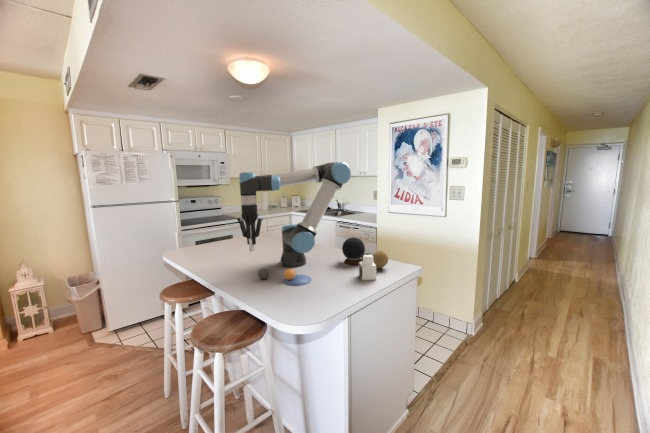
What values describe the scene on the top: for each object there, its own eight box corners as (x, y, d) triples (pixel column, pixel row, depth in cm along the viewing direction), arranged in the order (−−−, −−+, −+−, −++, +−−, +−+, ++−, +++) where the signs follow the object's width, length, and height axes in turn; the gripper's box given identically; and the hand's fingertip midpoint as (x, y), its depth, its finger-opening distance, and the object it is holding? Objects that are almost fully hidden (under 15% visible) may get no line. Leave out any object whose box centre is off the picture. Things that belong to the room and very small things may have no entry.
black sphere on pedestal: (339, 265, 163) (339, 239, 161) (345, 258, 175) (345, 234, 173) (362, 267, 158) (362, 240, 156) (367, 260, 170) (367, 235, 168)
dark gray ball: (259, 268, 147) (263, 278, 148) (254, 272, 142) (259, 282, 142) (268, 265, 146) (272, 274, 146) (263, 269, 140) (268, 279, 141)
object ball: (284, 268, 145) (287, 278, 145) (281, 272, 139) (284, 282, 140) (295, 266, 144) (297, 276, 144) (291, 270, 138) (294, 280, 139)
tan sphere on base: (390, 271, 151) (390, 252, 149) (373, 271, 150) (373, 253, 149) (385, 265, 160) (385, 248, 158) (369, 266, 159) (369, 249, 158)
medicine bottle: (359, 275, 146) (358, 252, 144) (372, 274, 146) (372, 251, 145) (362, 280, 139) (361, 256, 137) (376, 279, 139) (376, 255, 138)
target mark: (314, 275, 147) (314, 275, 147) (307, 286, 133) (307, 286, 133) (288, 274, 149) (288, 274, 149) (279, 285, 136) (279, 284, 136)
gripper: (233, 205, 138) (236, 252, 141) (258, 204, 135) (261, 253, 139) (240, 203, 145) (243, 248, 148) (264, 203, 142) (267, 249, 146)
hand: (252, 250), depth 143 cm, fingers closed
